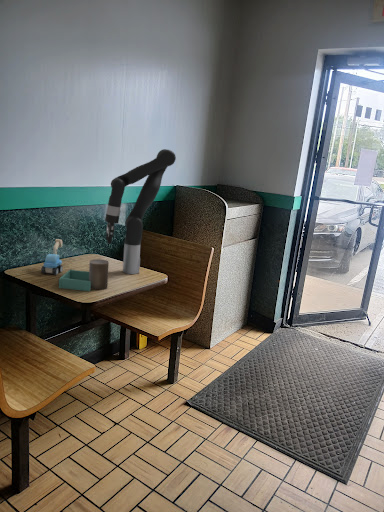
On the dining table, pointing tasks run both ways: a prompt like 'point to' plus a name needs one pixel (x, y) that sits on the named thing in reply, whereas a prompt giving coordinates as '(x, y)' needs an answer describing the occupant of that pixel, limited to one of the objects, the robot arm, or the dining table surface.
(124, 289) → the dining table surface
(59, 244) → the toy excavator
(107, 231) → the robot arm
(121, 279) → the dining table surface
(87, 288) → the teal square tray
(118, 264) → the dining table surface
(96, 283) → the pillar candle
